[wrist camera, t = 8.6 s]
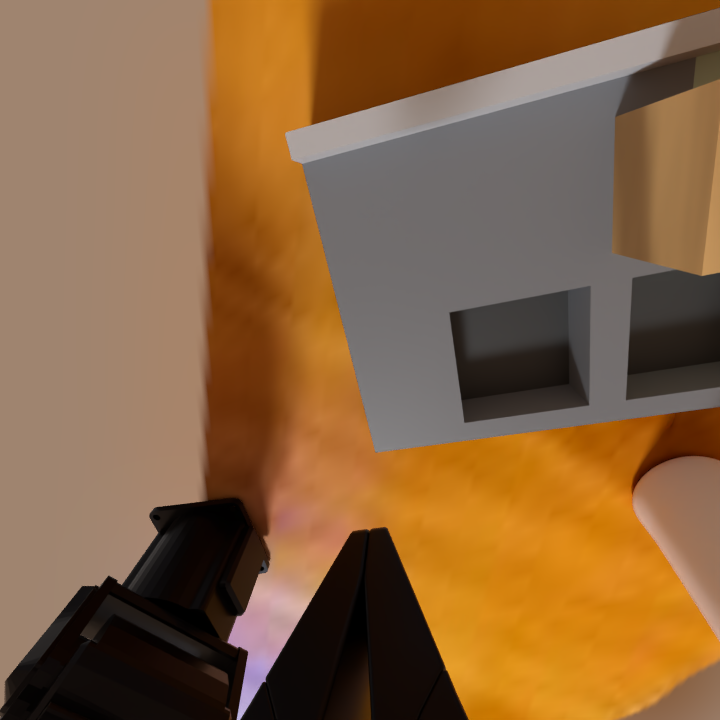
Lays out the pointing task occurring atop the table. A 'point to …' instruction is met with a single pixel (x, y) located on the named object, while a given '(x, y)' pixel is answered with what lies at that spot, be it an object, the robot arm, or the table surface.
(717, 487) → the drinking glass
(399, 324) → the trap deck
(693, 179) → the ochre block
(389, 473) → the table surface
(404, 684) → the robot arm
